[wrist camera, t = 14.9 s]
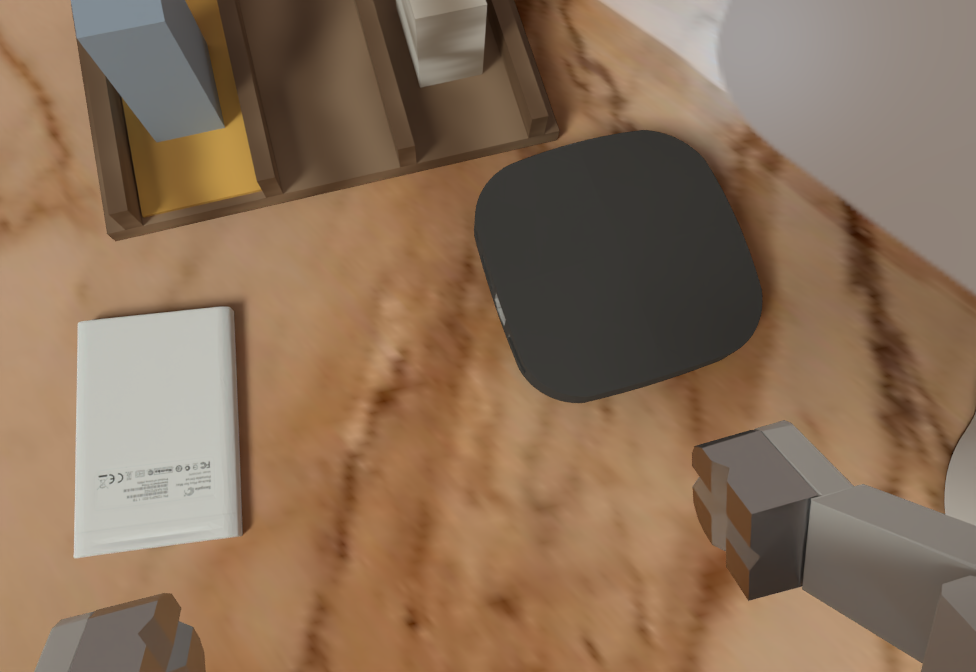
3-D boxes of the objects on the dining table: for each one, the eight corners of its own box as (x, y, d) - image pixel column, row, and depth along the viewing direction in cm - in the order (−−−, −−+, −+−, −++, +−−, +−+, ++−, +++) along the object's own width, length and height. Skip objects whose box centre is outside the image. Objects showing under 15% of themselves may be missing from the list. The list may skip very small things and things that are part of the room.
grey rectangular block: (207, 44, 43) (144, -80, 34) (225, 127, 41) (164, 21, 33) (140, 57, 42) (60, -65, 34) (156, 142, 41) (76, 38, 32)
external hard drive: (237, 313, 40) (246, 536, 37) (90, 329, 39) (85, 557, 36) (229, 304, 39) (237, 536, 35) (75, 321, 38) (68, 558, 35)
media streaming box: (766, 348, 41) (790, 335, 38) (532, 422, 39) (539, 413, 36) (675, 137, 44) (691, 110, 42) (457, 195, 43) (457, 171, 40)
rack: (486, -66, 48) (491, -164, 41) (557, 139, 44) (576, 68, 37) (78, 11, 44) (11, -82, 38) (115, 241, 40) (48, 183, 34)
